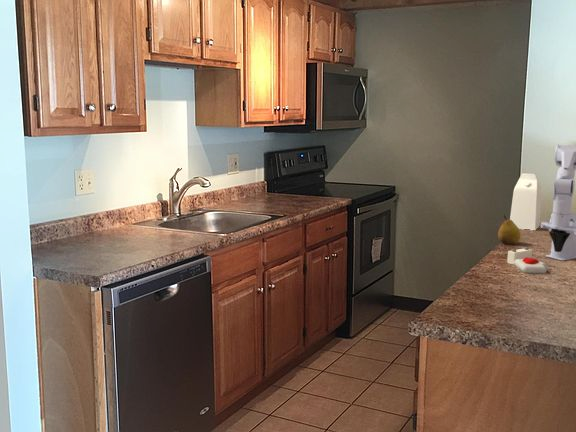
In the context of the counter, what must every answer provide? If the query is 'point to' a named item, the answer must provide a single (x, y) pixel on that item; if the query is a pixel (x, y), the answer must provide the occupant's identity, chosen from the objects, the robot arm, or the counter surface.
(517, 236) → the fruit
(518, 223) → the milk
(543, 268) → the icon
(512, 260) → the ledger strip
